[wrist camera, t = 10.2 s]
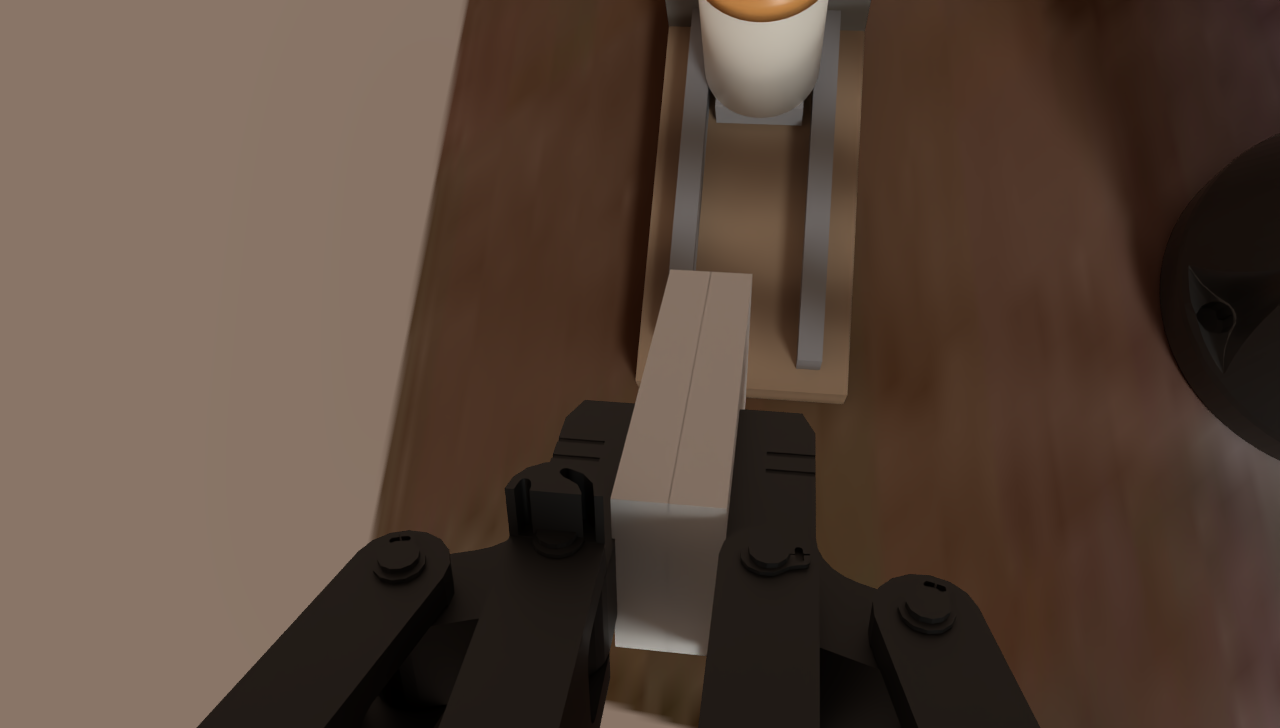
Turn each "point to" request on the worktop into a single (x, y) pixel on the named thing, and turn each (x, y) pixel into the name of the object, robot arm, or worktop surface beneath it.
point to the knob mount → (764, 208)
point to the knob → (762, 57)
